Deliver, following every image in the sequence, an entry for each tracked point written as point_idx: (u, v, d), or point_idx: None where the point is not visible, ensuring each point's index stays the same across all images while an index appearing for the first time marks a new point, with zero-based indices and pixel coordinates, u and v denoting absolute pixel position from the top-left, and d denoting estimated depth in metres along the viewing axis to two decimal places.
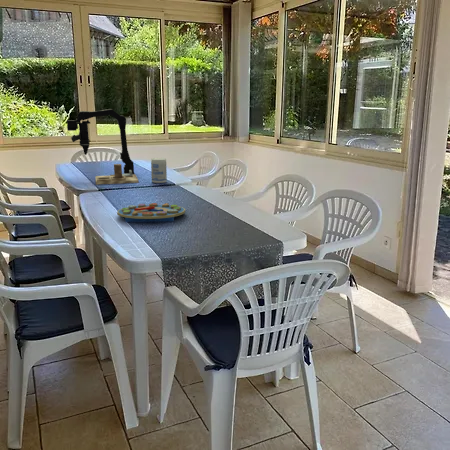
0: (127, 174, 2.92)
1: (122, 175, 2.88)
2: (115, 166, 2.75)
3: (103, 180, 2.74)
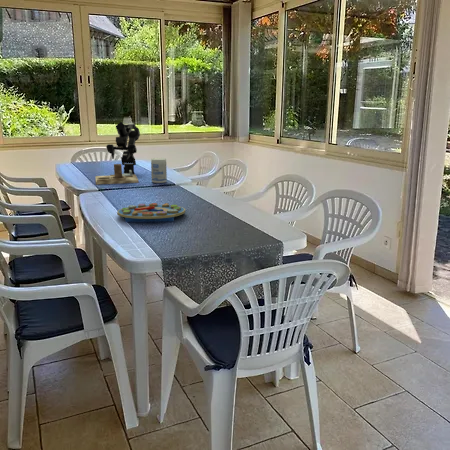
0: (127, 174, 2.92)
1: (122, 175, 2.88)
2: (115, 166, 2.75)
3: (103, 180, 2.74)
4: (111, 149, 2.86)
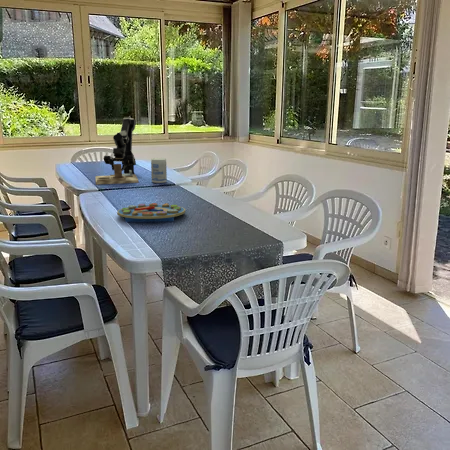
0: (127, 174, 2.92)
1: (122, 175, 2.88)
2: (115, 166, 2.75)
3: (103, 180, 2.74)
4: (111, 160, 2.78)
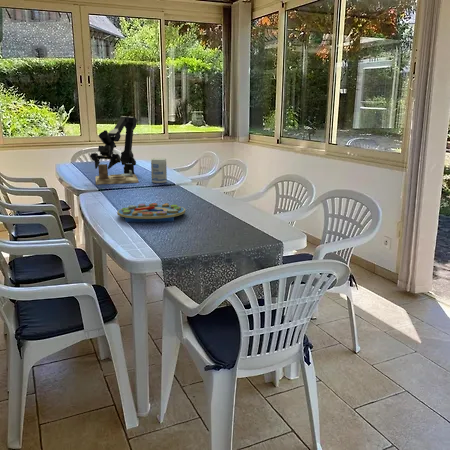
0: (127, 174, 2.92)
1: (122, 175, 2.88)
2: (99, 166, 2.73)
3: (103, 180, 2.74)
4: (95, 158, 2.76)
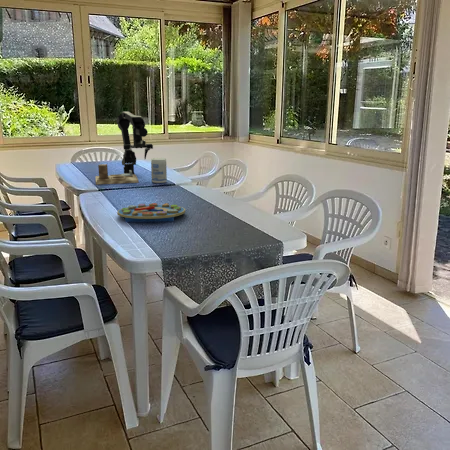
0: (127, 174, 2.92)
1: (122, 175, 2.88)
2: (99, 166, 2.73)
3: (103, 180, 2.74)
4: (130, 151, 2.87)
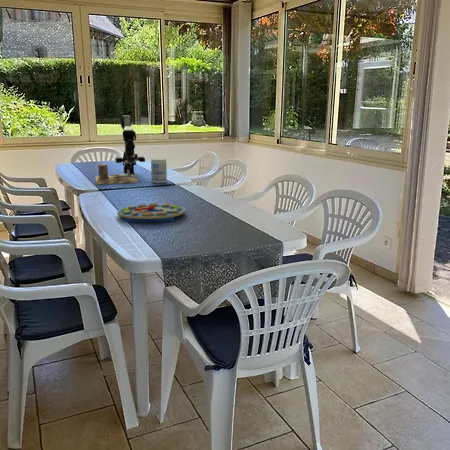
0: (125, 174, 2.92)
1: (120, 175, 2.88)
2: (99, 166, 2.73)
3: (103, 180, 2.74)
4: (128, 164, 2.89)
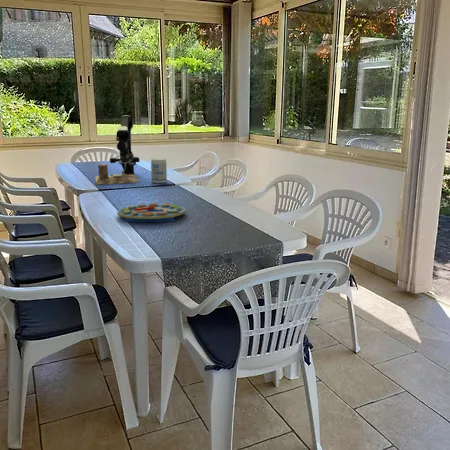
0: (119, 174, 2.91)
1: (114, 175, 2.87)
2: (99, 166, 2.73)
3: (103, 180, 2.74)
4: (122, 164, 2.88)
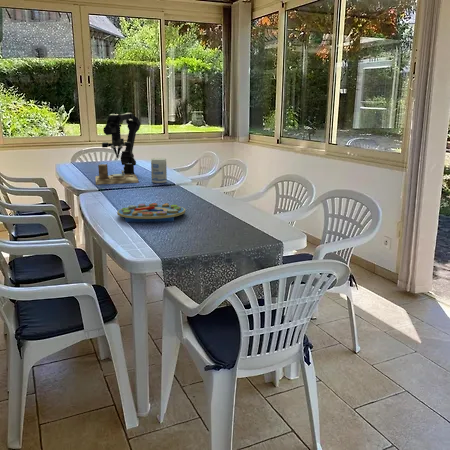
0: (119, 174, 2.91)
1: (114, 175, 2.87)
2: (99, 166, 2.73)
3: (103, 180, 2.74)
4: (114, 149, 2.89)
